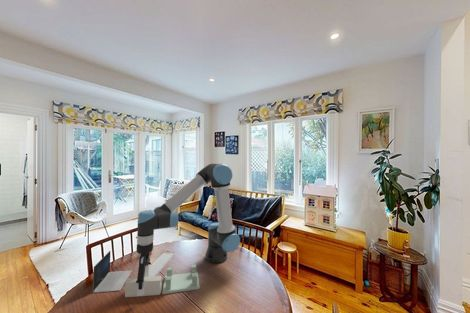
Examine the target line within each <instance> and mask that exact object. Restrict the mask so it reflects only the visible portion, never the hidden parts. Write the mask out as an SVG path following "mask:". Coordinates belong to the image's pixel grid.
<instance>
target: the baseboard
mask: <svg viewBox="0 0 470 313" xmlns="http://www.w3.org/2000/svg"><path fill="white" fill-rule="evenodd" d="M174 256H175V252H169V250H166V252H162V253H161V254H160V255H159V256H158V257H157V258H156V260H154V262H152V264H150V265H149V277H151V276H158V275H159V273H160V272H161V270H162V269H164V267H165V266H166V265H167V264H168V263H169V262H170V260H171V259H172V258H173V257H174Z"/></svg>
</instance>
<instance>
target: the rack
mask: <svg viewBox="0 0 470 313" xmlns="http://www.w3.org/2000/svg"><path fill="white" fill-rule="evenodd" d="M190 271H191V272H185V273H175V274H172V273H173V266H169V267H167V268H166V275H164V279H163V284H162V292H161V293H162V295H167V294H174V293H181V292H186V291H187V292H188V291H189V292H190V291H195V290H200V280H199V274H198V271H197V264H191V266H190Z"/></svg>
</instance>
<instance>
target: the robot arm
mask: <svg viewBox="0 0 470 313" xmlns="http://www.w3.org/2000/svg"><path fill="white" fill-rule="evenodd" d="M232 179H233V171H232V168H230V166H228V165H227V164H224V163H209V164H207V165H206V166H204V167H203V168H202V169H200V170H199V171H198V172H197V173H195V177H194V178H192V179H191V180H190V181H189V182H188V183H187V184H186V185H184V186H183V187H182V188H180V189H179V190H178V191H177V192H176V193H175V194H173V195H172V196H171V197H170V198H169V199H168V200H166V201H165V202H164V203H163V204H162V205H161V206H157V207H155V208H154V209H152V210H151V209H149V210H147V209H146V210H141V211H140V212H139V213H138V216H137V217H138V218H137V234H136V235H137V236H135V239H136V253H137V254H140V256H139V259H138V269H137V281H136V283H138V286H137V296H136V297H143V296H142V295H144V277H149V267H150V266H151V265H152V264H151V259H150V258H151V257H150V256H151V255H150V254H151V252H152V251H153V250H154V240H155V239H154V237H155V234H154V232H155V230H162V229H168V228H174V227H178V224H179V222H180V221H179V214H178V213H177V212H176V210H178V208H180V207H181V206H182V205H183V204H184V203H185V202H186V201H188V199H190V198H191V197H192V196H193V195H195V194H196V193H197V192H198V191H199V190H200V189H201V188H202V187H203V186H207V185H208V184H210V186H211V188H212V190H214V197H215V198H214V199H215V204H216V205H215V206H216V213H217V221H218V222H212V223H210V224H209V225H208V234H207V236H208V238H207V240H208V241H207V243H208V244H207V245H208V246H207V248H206V251H205V257H204V258H205V260H206V261H207V262H209V263H212V264H218V263H219V264H220V263H224V262H225V261H227V260H228V255H229V254H228V253H233V252H235V251H236V250H237V249H238V247H240V244H241V243H240V242H241V238H240V236H239V234H237V231H236V226H235V225H234V224H233V219H232V216H233V215H232V209H231V201H230V192H229V191H230V190H229V187H230V186H231V181H232Z"/></svg>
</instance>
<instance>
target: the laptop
mask: <svg viewBox="0 0 470 313" xmlns="http://www.w3.org/2000/svg"><path fill="white" fill-rule="evenodd" d="M132 272H133V270H119V271H118V270H117V271H111V250H109V251H108V252H107V253H106V254H105V255H104V256H103V257H102V258H101V259H100V260H99V261H98V262H97V263H96V264H95V265H94V266H93V272H92V274H93V275H92V279H93V280H92V294H101V293H110V292H118V291H121V289H122V288H123V286H125V285H124V284H125V283H126V281H127V279H128V278H130V277H129V276H130V275H131V273H132ZM94 292H95V293H94Z"/></svg>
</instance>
